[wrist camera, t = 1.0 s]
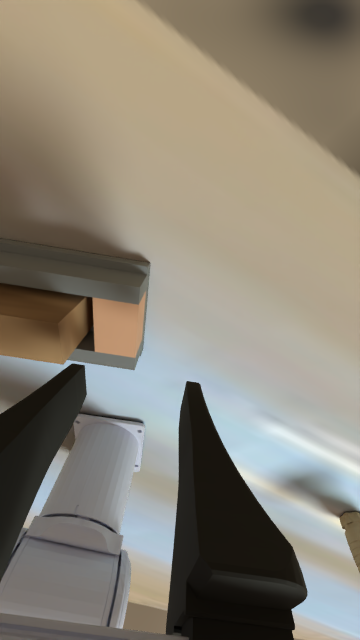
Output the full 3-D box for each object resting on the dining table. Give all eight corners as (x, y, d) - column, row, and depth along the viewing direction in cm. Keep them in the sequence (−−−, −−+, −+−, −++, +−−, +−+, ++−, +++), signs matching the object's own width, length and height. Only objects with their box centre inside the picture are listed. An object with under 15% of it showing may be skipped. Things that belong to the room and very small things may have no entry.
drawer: (94, 324, 19) (63, 364, 14) (-5, 308, 19) (-66, 344, 14) (92, 290, 17) (57, 323, 13) (-15, 273, 17) (-86, 301, 13)
